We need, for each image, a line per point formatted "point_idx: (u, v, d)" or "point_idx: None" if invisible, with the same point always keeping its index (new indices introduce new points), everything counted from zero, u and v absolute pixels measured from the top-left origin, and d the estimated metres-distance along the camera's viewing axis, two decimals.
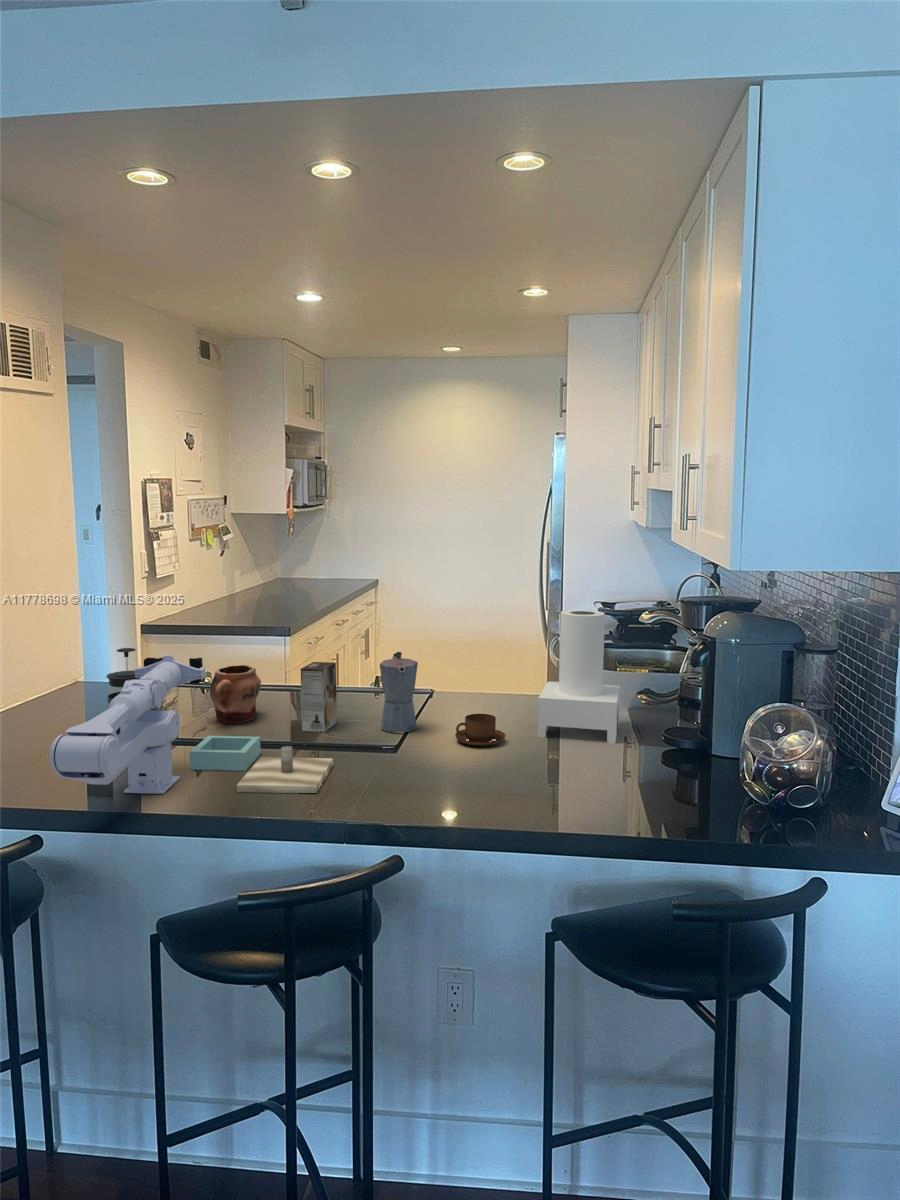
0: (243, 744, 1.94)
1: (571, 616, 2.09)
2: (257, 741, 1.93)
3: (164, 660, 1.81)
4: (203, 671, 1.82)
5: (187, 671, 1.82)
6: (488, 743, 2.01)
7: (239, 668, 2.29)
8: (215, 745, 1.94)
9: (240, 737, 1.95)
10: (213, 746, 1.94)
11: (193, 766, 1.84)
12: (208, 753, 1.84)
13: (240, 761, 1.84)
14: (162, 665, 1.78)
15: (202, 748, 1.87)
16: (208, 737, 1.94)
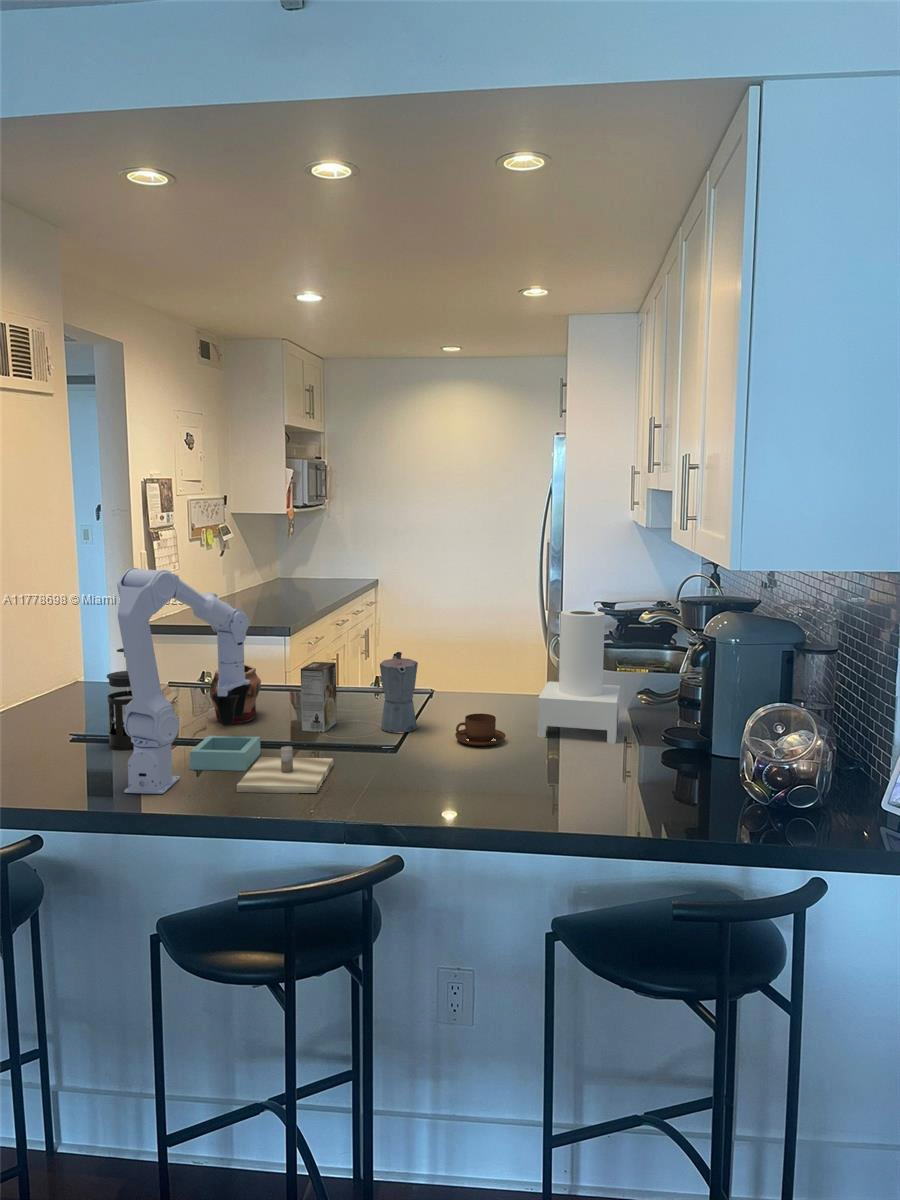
0: (243, 744, 1.94)
1: (571, 616, 2.09)
2: (257, 741, 1.93)
3: (245, 679, 1.94)
4: (223, 691, 1.86)
5: None
6: (488, 743, 2.01)
7: None
8: (215, 745, 1.94)
9: (240, 737, 1.95)
10: (213, 746, 1.94)
11: (193, 766, 1.84)
12: (208, 753, 1.84)
13: (240, 761, 1.84)
14: (243, 666, 1.92)
15: (202, 748, 1.87)
16: (208, 737, 1.94)
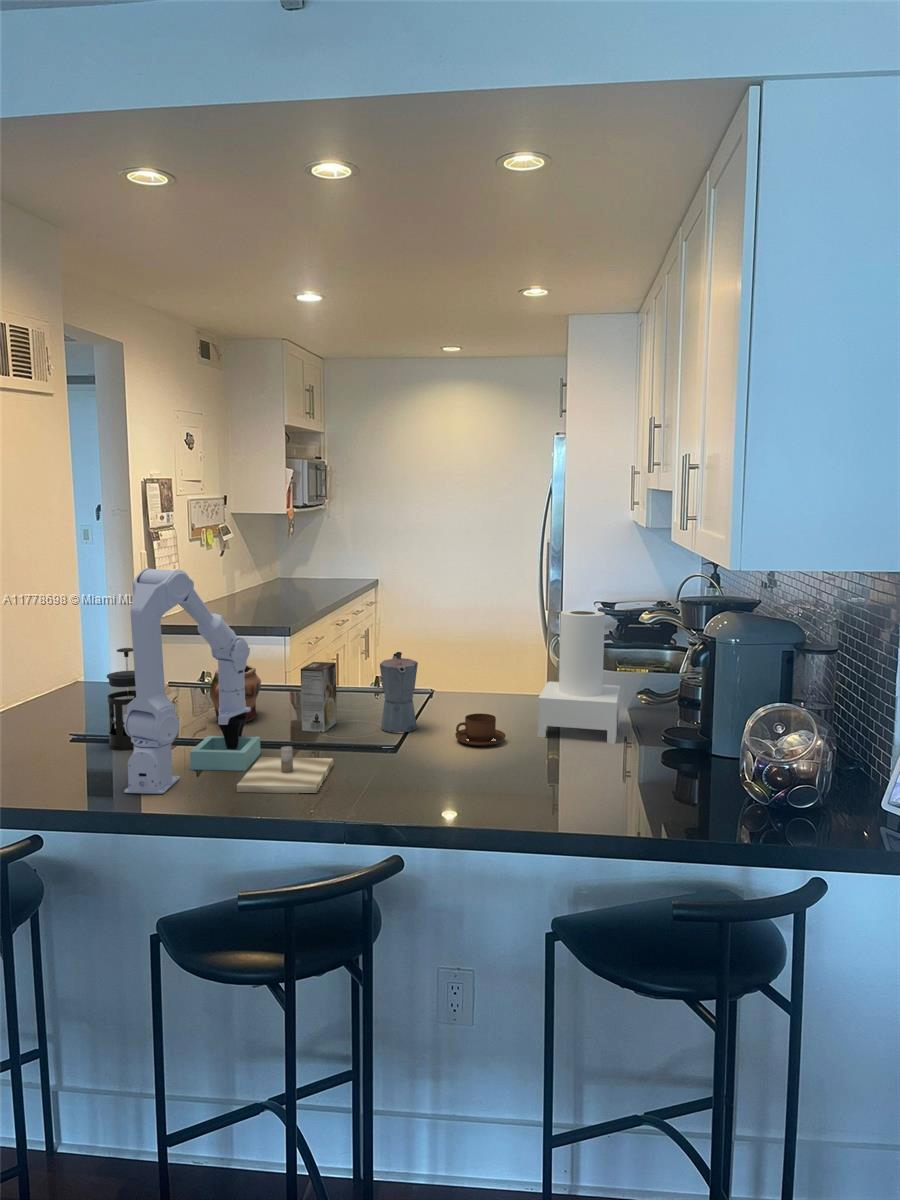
0: (243, 744, 1.94)
1: (571, 616, 2.09)
2: (257, 741, 1.93)
3: (246, 707, 1.94)
4: (224, 720, 1.87)
5: None
6: (488, 743, 2.01)
7: None
8: (215, 745, 1.94)
9: (240, 737, 1.95)
10: (213, 746, 1.94)
11: (193, 766, 1.84)
12: (208, 753, 1.84)
13: (240, 761, 1.84)
14: (244, 694, 1.93)
15: (202, 748, 1.87)
16: (208, 737, 1.94)
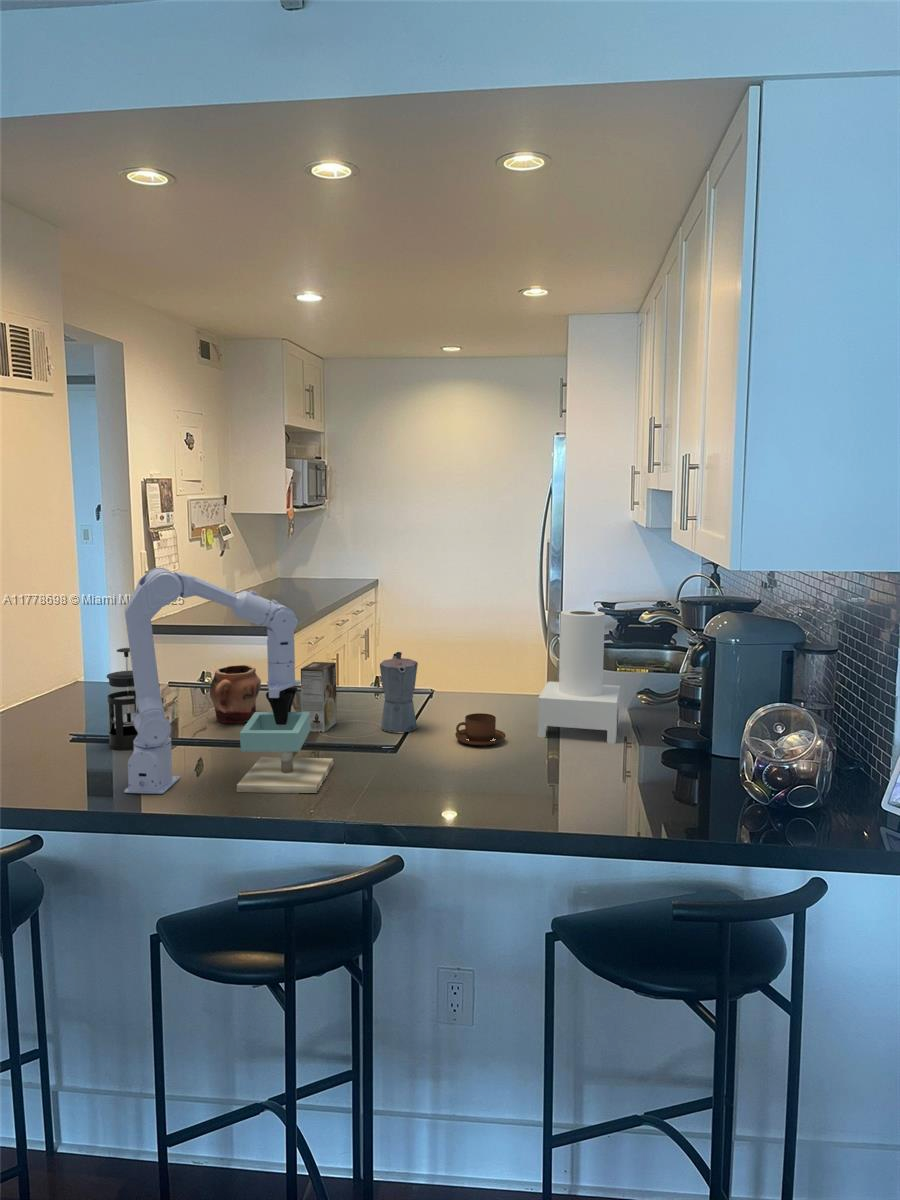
0: (293, 720, 1.84)
1: (571, 616, 2.09)
2: (307, 717, 1.83)
3: (296, 680, 1.84)
4: (275, 692, 1.77)
5: None
6: (488, 743, 2.01)
7: (239, 668, 2.29)
8: (263, 722, 1.85)
9: (289, 713, 1.85)
10: (261, 723, 1.85)
11: (244, 748, 1.75)
12: (259, 734, 1.74)
13: (293, 742, 1.74)
14: (294, 666, 1.83)
15: (251, 728, 1.78)
16: (255, 714, 1.84)
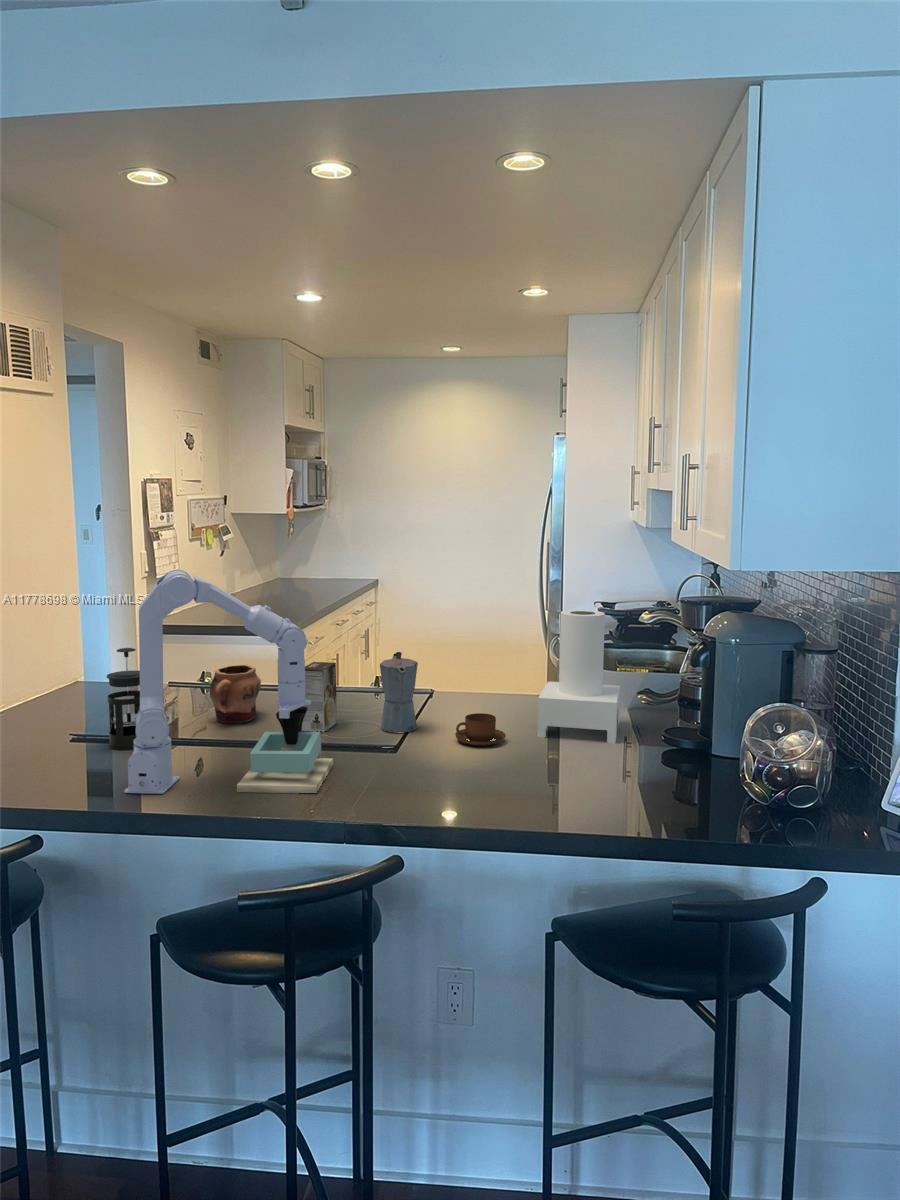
0: (303, 740, 1.83)
1: (571, 616, 2.09)
2: (318, 737, 1.82)
3: (306, 700, 1.83)
4: (285, 713, 1.76)
5: (289, 707, 1.79)
6: (488, 743, 2.01)
7: (239, 668, 2.29)
8: (273, 742, 1.83)
9: (299, 733, 1.83)
10: (271, 743, 1.83)
11: (254, 768, 1.73)
12: (269, 755, 1.73)
13: (304, 762, 1.73)
14: (304, 686, 1.82)
15: (262, 748, 1.76)
16: (265, 734, 1.83)
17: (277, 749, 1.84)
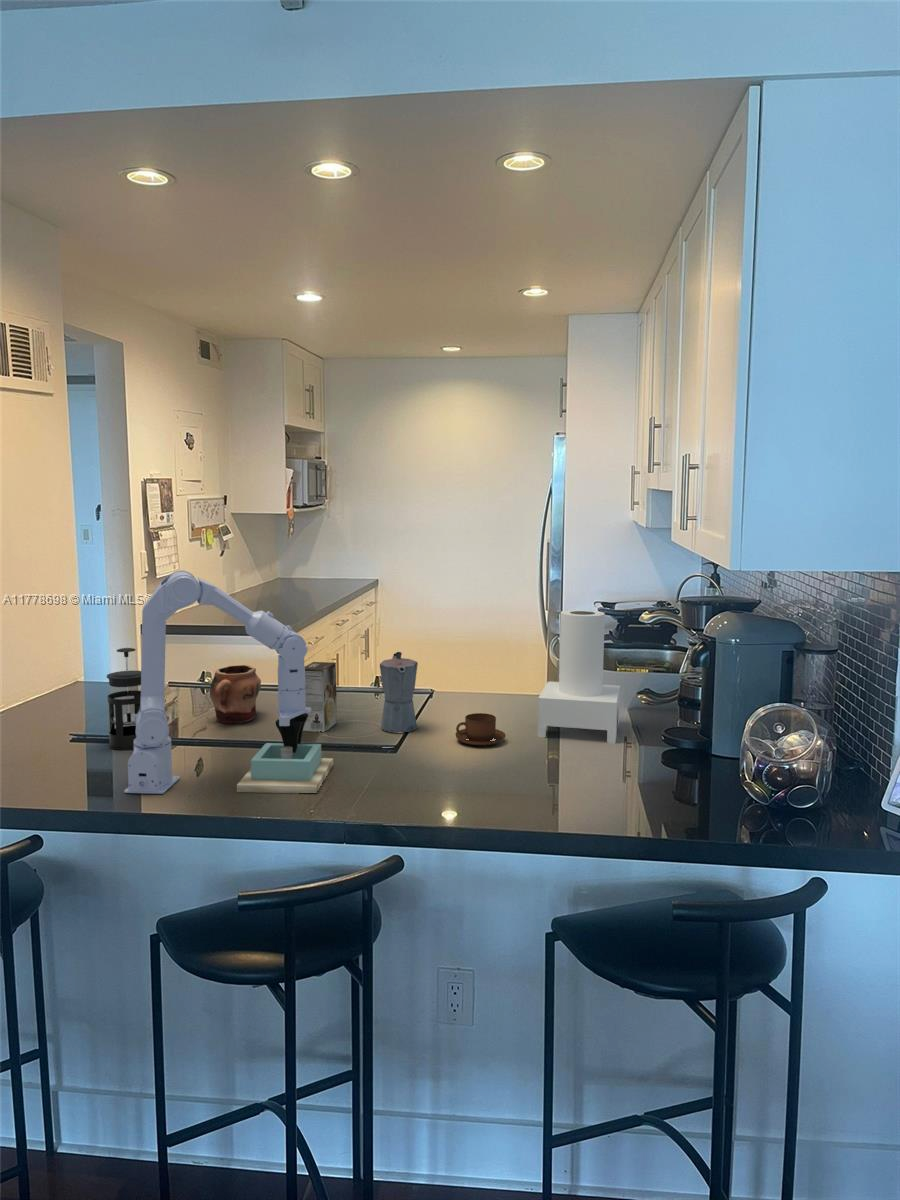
0: (304, 752, 1.83)
1: (571, 616, 2.09)
2: (319, 749, 1.82)
3: (306, 707, 1.83)
4: (285, 721, 1.76)
5: (289, 715, 1.79)
6: (488, 743, 2.01)
7: (239, 668, 2.29)
8: (274, 753, 1.84)
9: (300, 745, 1.84)
10: (272, 754, 1.84)
11: (254, 776, 1.74)
12: (270, 762, 1.73)
13: (304, 770, 1.73)
14: (304, 693, 1.82)
15: (262, 757, 1.77)
16: (266, 745, 1.84)
17: None
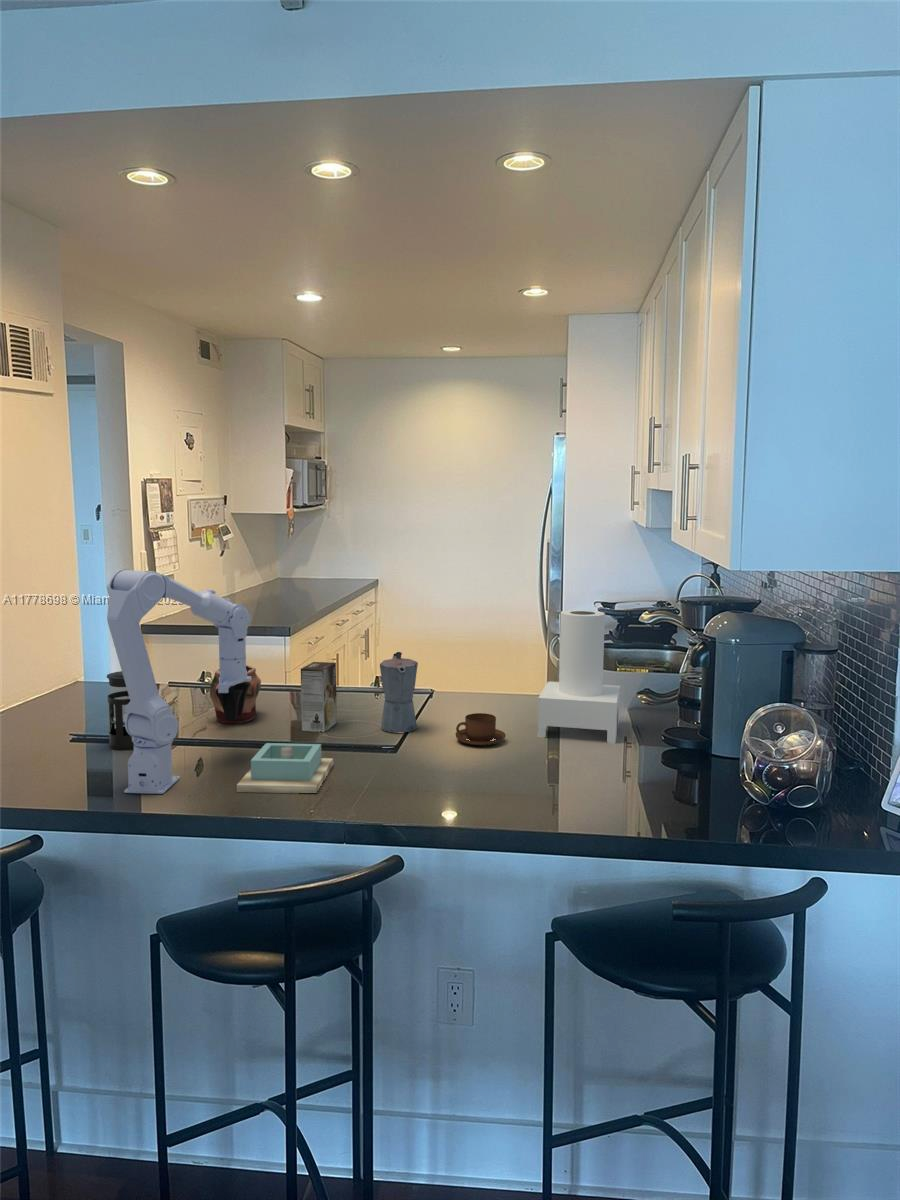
0: (304, 752, 1.83)
1: (571, 616, 2.09)
2: (319, 749, 1.82)
3: (247, 676, 1.91)
4: (224, 688, 1.83)
5: (229, 682, 1.86)
6: (488, 742, 2.01)
7: None
8: (274, 753, 1.84)
9: (300, 745, 1.84)
10: (272, 754, 1.84)
11: (254, 776, 1.74)
12: (270, 762, 1.73)
13: (304, 770, 1.73)
14: (245, 663, 1.89)
15: (262, 757, 1.77)
16: (266, 745, 1.84)
17: None
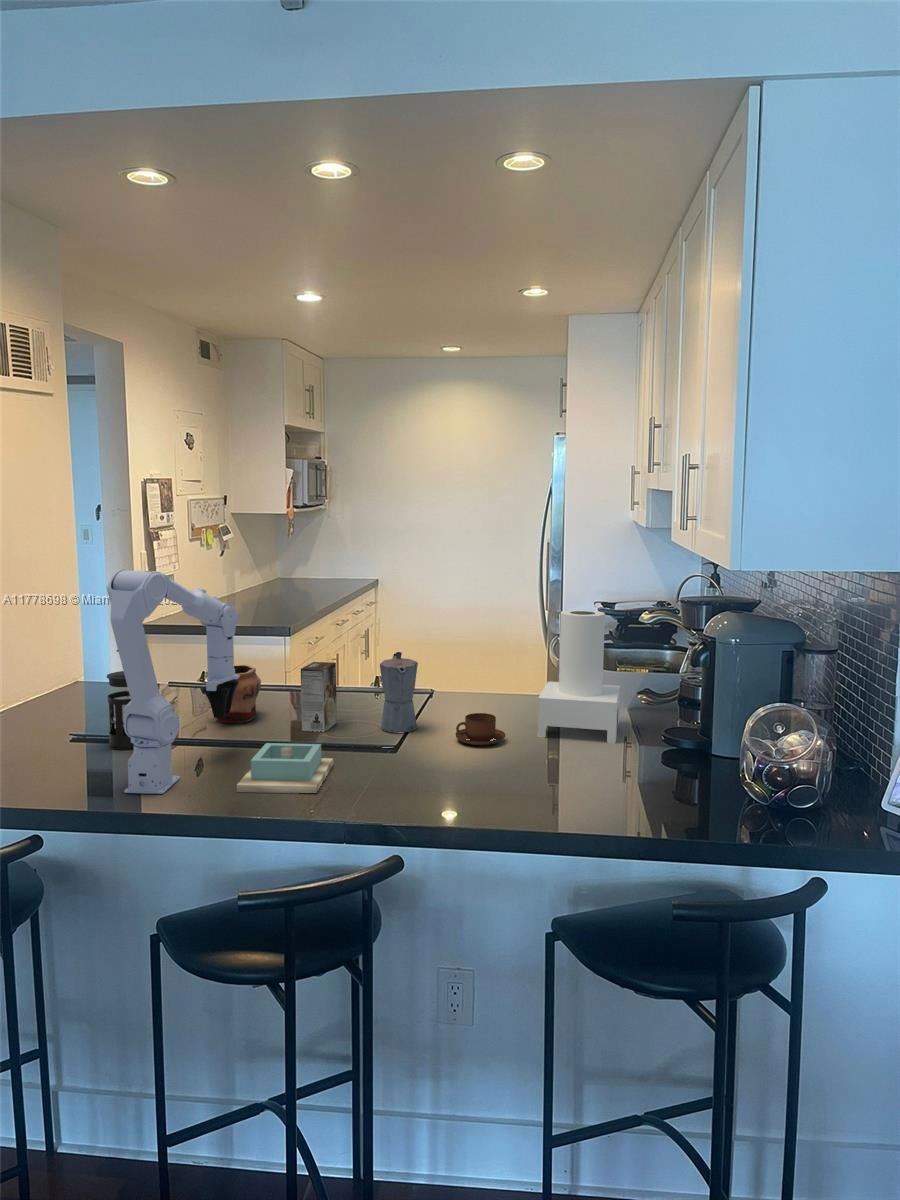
0: (304, 752, 1.83)
1: (571, 616, 2.09)
2: (319, 749, 1.82)
3: (235, 674, 1.92)
4: (212, 686, 1.85)
5: (217, 681, 1.88)
6: (488, 742, 2.01)
7: (239, 668, 2.29)
8: (274, 753, 1.84)
9: (300, 745, 1.84)
10: (272, 754, 1.84)
11: (254, 776, 1.74)
12: (270, 762, 1.73)
13: (304, 770, 1.73)
14: (233, 661, 1.91)
15: (262, 757, 1.77)
16: (266, 745, 1.84)
17: None
